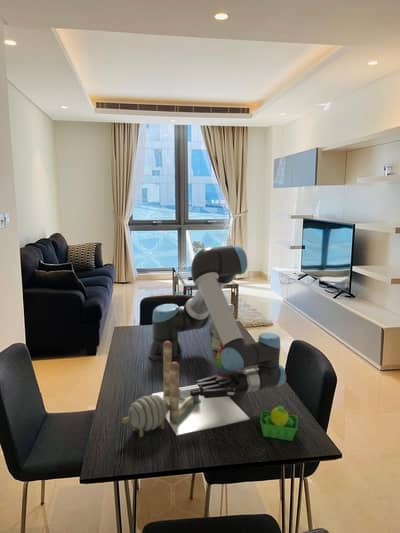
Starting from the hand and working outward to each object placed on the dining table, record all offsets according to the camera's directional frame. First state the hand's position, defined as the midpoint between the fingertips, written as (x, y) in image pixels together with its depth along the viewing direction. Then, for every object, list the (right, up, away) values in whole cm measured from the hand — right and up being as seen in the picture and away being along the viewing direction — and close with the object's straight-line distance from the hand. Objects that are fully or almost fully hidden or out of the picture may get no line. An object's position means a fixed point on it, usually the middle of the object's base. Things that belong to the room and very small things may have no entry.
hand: (179, 393), depth 134 cm
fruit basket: (+31, -12, -4) cm, 34 cm away
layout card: (+6, -8, +12) cm, 16 cm away
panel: (0, -8, +6) cm, 11 cm away
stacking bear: (+18, -4, +35) cm, 40 cm away
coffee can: (+17, +2, +67) cm, 69 cm away
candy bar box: (+18, +5, +86) cm, 88 cm away
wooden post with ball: (-1, -7, +17) cm, 19 cm away
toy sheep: (-10, -11, -2) cm, 15 cm away
